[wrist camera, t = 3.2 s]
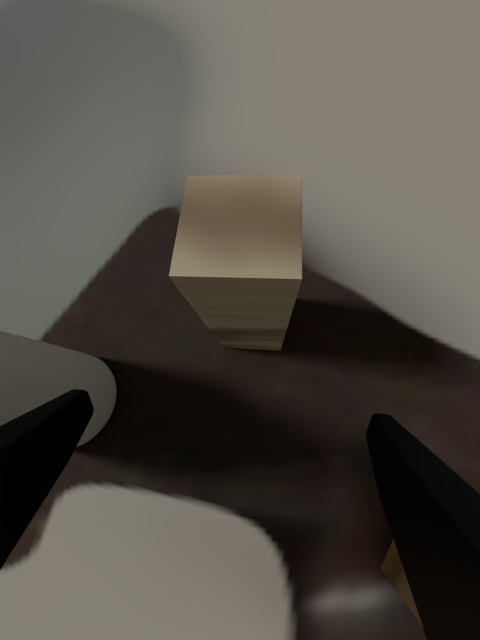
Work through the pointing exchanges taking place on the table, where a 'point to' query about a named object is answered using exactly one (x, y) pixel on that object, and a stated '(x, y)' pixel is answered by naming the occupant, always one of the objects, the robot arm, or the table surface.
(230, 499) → the table surface
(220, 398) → the table surface
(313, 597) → the table surface
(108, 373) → the milk bottle
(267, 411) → the table surface
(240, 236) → the maple block
